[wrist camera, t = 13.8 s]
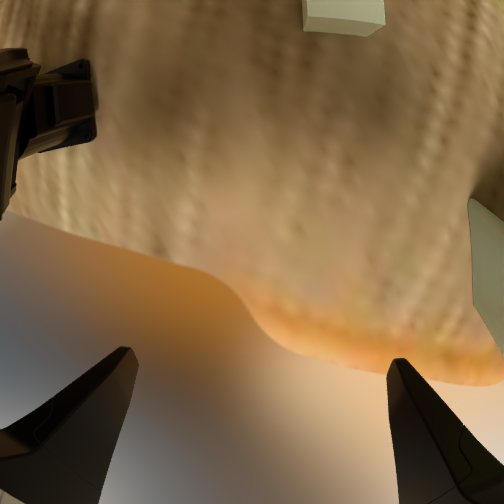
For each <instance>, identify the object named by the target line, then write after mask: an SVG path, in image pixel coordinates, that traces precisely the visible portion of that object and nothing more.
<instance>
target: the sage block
mask: <svg viewBox="0 0 504 504" xmlns="http://www.w3.org/2000/svg"><path fill="white" fill-rule="evenodd" d="M302 11H303V31H306V32H324V33H337V34H347V35H355V36H363V37H368V36H369V35H371V34H372V33H374V32H376V31H377V30H379V29H380V28H382V27H383V26H385V25H386V24H385V11H384V0H302Z"/></svg>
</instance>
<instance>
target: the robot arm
mask: <svg viewBox="0 0 504 504" xmlns="http://www.w3.org/2000/svg"><path fill="white" fill-rule="evenodd" d="M29 60H30V58H29V57H28V53H27V49H25V48H5V49H0V221H1V219H2V214H3V213H4V212H5V210H6V208H7V207H8V205H9V201H10V198H11V196H12V195H13V194H14V193H15V192H16V183H15V181H16V172H17V164H18V160H20V159H23V158H25V157H27V156H30V155H32V154H34V153H37V152H38V153H42V152H46V151H51V150H55V149H59V148H64V147H68V146H73V145H78V144H83V143H88V142H91V141H93V140H94V139H95V137H96V133H95V125H94V116H93V113H94V111H93V100H92V88H91V81H90V64H89V61H88V60H86V59H81V60H78V61H76V62H73V63H70V64H68V65H65V66H62V67H60V68H57V69H55V70H53V71H50V72H48V73H45V74H41V75H37V74H39V71H40V68H41V65H38V64H35V63H33V62H31V61H29ZM83 63H84V67H83V68H82V64H83ZM88 133H89V134H90V138H89V137H88ZM138 367H139V364H138V360H137V358H136V356H135V353H134V351H133V349H132V348H131V347H127V346H120V347H118V348H117V349H116V350H114V351H113V352H112V353H110V354H109V355H108V356H106V357H105V358H104V359H102V360H101V361H100V362H98V363H97V364H96V365H94V366H93V367H92V368H90V369H89V370H88V371H87V372H85V373H84V374H82V375H81V376H80V377H79V378H77V379H76V380H75V381H73V382H72V383H71V384H69V385H68V386H67V387H65V388H64V389H63V390H61V391H60V392H59V393H57V394H56V395H55V396H54V397H52V398H51V399H49V400H48V401H47V402H45V403H44V404H42V405H41V406H40V407H38V408H37V409H35V410H34V411H32V412H31V413H29V414H28V415H26V416H24V417H23V418H21V419H20V420H18V421H16V422H14V423H13V424H11V425H10V426H8V427H6V428H3V429H0V504H98V503H99V499H100V496H101V491H102V488H103V485H104V481H105V478H106V475H107V471H108V468H109V465H110V462H111V458H112V455H113V452H114V449H115V446H116V443H117V440H118V437H119V433H120V431H121V427H122V425H123V422H124V419H125V416H126V413H127V410H128V407H129V404H130V401H131V397H132V392H133V388H134V384H135V380H136V376H137V371H138ZM386 379H387V395H388V413H389V423H390V429H391V435H392V443H393V450H394V457H395V465H396V474H397V484H398V494H399V504H504V465H503V464H501V463H500V462H499V461H498V460H497V459H496V458H495V457H494V456H493V455H492V454H491V453H490V452H489V451H487V449H486V448H485V447H484V446H483V445H482V444H481V443H480V442H479V441H478V440H477V439H476V438H475V437H474V436H473V434H472V433H471V432H470V431H469V430H468V429H467V428H466V426H465V425H463V423H462V422H461V421H460V419H459V418H458V417H457V416H456V415H455V414H454V412H453V411H452V410H451V409H450V408H449V407H448V406H447V404H446V403H445V402H444V401H443V400H442V399H441V398H440V396H439V395H438V394H437V393H436V392H435V391H434V390H433V388H432V387H431V386H430V385H429V384H428V383H427V382H426V381H425V379H424V378H423V377H422V376H421V375H420V374H419V373H418V372H417V370H416V369H415V368H414V367H413V366H412V365H411V364H410V363H409V362H408V361H407V360H406V359H405V358H395V359H393V361H392V363H391V365H390V368H389V370H388V373H387V378H386Z"/></svg>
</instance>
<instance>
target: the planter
mask: <svg viewBox="0 0 504 504" xmlns="http://www.w3.org/2000/svg"><path fill="white" fill-rule="evenodd" d="M468 215H469V222H470V233H471V246H472V277H473V305H474V307H475V308H476V310H477V311H478V313H479V314H480V316H481V318H482V319H483V321H484V323H485V324H486V326H487V328H488V330H489V331H490V333H491V335H492V337H493V338H494V340H495V342H496V344H497V346H498V347H499V349H500V351H501V353H502V355H503V357H504V222H503V221H502V220H500V219H499V218H498V217H497V216H496V215H494V214H493V213H492V212H491V211H489V210H488V209H487V208H485V207H484V206H483V205H482V204H480V203H479V202H478V201H476V200H475V199H473V198H471V199H469V201H468Z"/></svg>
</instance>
